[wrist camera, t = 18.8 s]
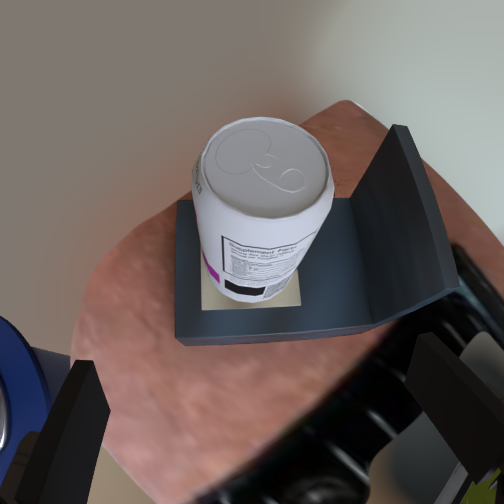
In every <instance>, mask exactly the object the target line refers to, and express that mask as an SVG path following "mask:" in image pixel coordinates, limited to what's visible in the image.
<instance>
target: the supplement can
mask: <svg viewBox="0 0 504 504" xmlns="http://www.w3.org/2000/svg"><path fill="white" fill-rule="evenodd" d="M334 189H335V188H334V184H333V179H332V175H331V168H330V164H329V160H328V156H327V153H326V152H325V150H324V149H323V148H322V146H321V145H320V143H319V142H318V140H317V139H316V138H315V137H313V136H312V135H311V134H310V133H308V132H307V131H306V130H304V129H303V128H302V127H300V126H298V125H295V124H293V123H291V122H288V121H286V120H283V119H278V118H270V117H264V116H259V117H251V118H242V119H239V120H237V121H234V122H232V123H229V124H227V125H225V126H223V127H222V128H220V129H219V130H218V131H217V132H216V133H215V134H214V135H212V136H211V137H210V138H209V140H208V142H207V144H206V146H205V148H204V149H203V150H202V151H201V153H200V155H199V157H198V159H197V161H196V163H195V165H194V167H193V169H192V196H193V202H194V208H195V214H196V219H197V225H198V230H199V236H200V241H201V247H202V252H203V257H204V262H205V268H206V270H207V273H208V275H209V278H210V280H211V282H212V283H213V284H214V285H215V287H216V288H217V289H218V290H219V291H220V292H221V293H222V294H224V295H226V296H228V297H230V298H232V299H234V300H236V301H241V302H249V303H255V302H260V301H264V300H268V299H270V298H272V297H273V296H275V295H276V294H278V293H279V292H281V291H282V290H283V289H284V287H285V286H286V285H287V283H288V282H289V280H290V279H291V277H292V276H293V274H294V272H295V271H296V269H297V267H298V266H299V264H300V262H301V260H302V259H303V257H304V255H305V253H306V252H307V250H308V248H309V247H310V245H311V243H312V241H313V240H314V238H315V236H316V234H317V232H318V231H319V229H320V227H321V225H322V224H323V222H324V220H325V218H326V216H327V215H328V213H329V211H330V209H331V205H332V200H333V194H334Z"/></svg>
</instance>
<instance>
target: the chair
mask: <svg viewBox="0 0 504 504" xmlns="http://www.w3.org/2000/svg"><path fill="white" fill-rule="evenodd" d="M459 288H460V283H459V278H458V274H457V270H456V265H455V261H454V258H453V254H452V250H451V246H450V243H449V239H448V236H447V232H446V229H445V225H444V222H443V219H442V216H441V213H440V209H439V206H438V203H437V200H436V197H435V195H434V192H433V189H432V186H431V183H430V181H429V178H428V175H427V173H426V170H425V167H424V165H423V162H422V160H421V157H420V155H419V152H418V150H417V148H416V145H415V143H414V141H413V138H412V136H411V134H410V131H409V129H408V127H407V126H402V125H396V124H393V125H392V126H391V128H390V130H389V132H388V134H387V135H386V137H385V139H384V141H383V142H382V144H381V146H380V148H379V149H378V151H377V153H376V154H375V156H374V158H373V160H372V161H371V163H370V165H369V166H368V168H367V170H366V172H365V173H364V175H363V177H362V178H361V180H360V182H359V183H358V185H357V187H356V188H355V190H354V192H353V193H352V195H351V197H350V198H333V200H332V205H331V209H330V211H329V213H328V215H327V216H326V218H325V220H324V222H323V224H322V225H321V227H320V229H319V231H318V232H317V234H316V236H315V238H314V240H313V241H312V243H311V245H310V247H309V248H308V250H307V252H306V253H305V255H304V257H303V259H302V260H301V262H300V264H299V266H298V267H297V269H296V271H295V272H294V274H293V276H292V277H291V279H290V280H289V282H288V283H287V285H286V286H285V287H284V289H283V290H282V291H281V292H279V293H278V294H276V295H275V296H273V297H272V298H270V299H268V300H264V301H260V302H255V303H249V302H241V301H236V300H234V299H232V298H230V297H228V296H226V295H224V294H222V293H221V292H220V291H219V290H218V289H217V288H216V287H215V285H214V284H213V283H212V282H211V280H210V278H209V275H208V273H207V270H206V268H205V262H204V257H203V252H202V247H201V241H200V236H199V230H198V225H197V219H196V214H195V208H194V202H193V200H178V201H177V216H176V242H175V338H176V339H177V340H178V341H179V342H181V343H182V344H183V345H184V346H198V345H229V344H250V343H267V342H281V341H294V340H306V339H316V338H326V337H336V336H345V335H353V334H361V333H364V332H366V331H369V330H371V329H374V328H376V327H378V326H381V325H383V324H385V323H388V322H390V321H392V320H394V319H397V318H399V317H401V316H403V315H406V314H408V313H410V312H412V311H414V310H416V309H419V308H421V307H423V306H425V305H427V304H429V303H431V302H433V301H435V300H437V299H439V298H441V297H443V296H445V295H447V294H449V293H451V292H453V291H455V290H457V289H459Z"/></svg>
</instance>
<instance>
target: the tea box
mask: <svg viewBox="0 0 504 504" xmlns="http://www.w3.org/2000/svg"><path fill="white" fill-rule="evenodd" d="M500 472H501V471H500V469H499V468H498V469H497V470H496V471H495V472H494V474H493V475H492V476H491V477H490V478H489V479H487V480H485V481H484V482H482V483H480V484H479V485H477V486H476V485H475V483H474V482H473V480H472V479H471V477H470V476H469V474H468V473H467V471H466V470H465V468H464V467H463V465H462V464H461V462H460V461H459V462H458V464H457V466H456V468H455V469H454V471H453V473H452V475H451V476H450V478H449V480H448V482H447V483H446V485H445V487H444V488H443V490H442V492H441V493H440V495H439V496H438V498H437V500H436V501H435V503H434V504H495V497H496V490H494V489H495V487H496V486H497V483H496V484H495V485H494V486H493V488H492V489H491V490H488V489H489V486H490V484H491V483H492V482H493V481H494V480H495V478H496V477H497V476H498V475H499V474H500Z"/></svg>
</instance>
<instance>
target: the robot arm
mask: <svg viewBox="0 0 504 504" xmlns="http://www.w3.org/2000/svg"><path fill="white" fill-rule="evenodd" d="M404 385H405V386H406V387H407V389H408V390H409V391H410V393H411V394H412V395H413V397H414V398H415V399H416V401H417V402H418V403H419V405H420V406H421V408H422V409H423V410H424V412H425V413H426V414H427V416H428V417H429V418H430V420H431V421H432V423H433V424H434V426H435V427H436V428H437V430H438V431H439V433H440V434H441V435H442V437H443V438H444V440H445V441H446V442H447V444H448V445H449V447H450V448H451V449H452V451H453V452H454V454H455V455H456V457H457V458H458V459H459V461H460V462H461V464H462V465H463V467H464V468H465V470H466V471H467V473H468V474H469V476H470V477H471V479H472V480H473V482H474V483H475V485H476V486H477V485H479V484H480V483H482V482H484V481H485V480H487V479H489V478H490V477H491V476H492V475H493V474H494V472H495V471H496V470H497V469H498V468H499V469H500V471H501V472H500V474H499V475H498V476H497V477H496V478H495V480H494V481H493V482H492V483H491V484H490V486H489V489H488V490H491V489H492V488H493V486H494V485H495V484H496V483H497V486H496V487H495V489H494V490H496V497H495V504H504V395H503V394H502V393H501V391H499V389H498V388H496V387H494V386H492V385H490V384H489V383H486V384H484V383H483V382H482V381H481V380H480V379H479V378H478V377H477V376H476V375H475V374H474V373H473V372H472V371H471V370H470V369H469V368H468V367H467V366H466V365H465V364H464V363H463V362H462V361H461V360H460V359H459V358H458V357H457V356H456V355H455V354H454V353H453V352H452V351H451V350H450V349H449V348H448V347H447V346H446V345H445V344H444V343H443V342H442V341H441V340H440V339H439V338H438V337H437V336H435V335H434V334H433V333H432V332H429V333H424V334H419V335H418V337H417V341H416V345H415V348H414V352H413V355H412V359H411V362H410V366H409V369H408V372H407V375H406V378H405V381H404ZM110 411H111V410H110V408H109V405H108V403H107V400H106V397H105V394H104V392H103V389H102V386H101V383H100V380H99V377H98V374H97V371H96V368H95V365H94V362H93V361H92V360H75V362H74V364H73V366H72V368H71V370H70V372H69V374H68V376H67V378H66V380H65V381H64V383H63V385H62V387H61V389H60V392H59V394H58V396H57V398H56V400H55V402H54V404H53V406H52V408H51V410H50V412H49V414H48V417H47V419H46V421H45V423H44V425H43V428H42V430H41V432H35V431H29V432H28V433H27V434H26V435H25V436H24V437H23V438H22V439H21V441H20V443H19V445H18V447H17V449H16V453H15V454H14V456H13V458H12V462H11V463H10V465H9V467H8V470H7V472H6V474H5V477H4V479H3V482H2V484H1V487H0V504H87V501H88V496H89V492H90V487H91V483H92V479H93V475H94V470H95V466H96V462H97V458H98V455H99V451H100V447H101V443H102V440H103V436H104V432H105V429H106V425H107V422H108V418H109V415H110ZM11 431H12V412H11V405H10V400H9V396H8V392H7V389H6V386H5V384H4V381H3V379H2V377H1V375H0V455H1V454H2V453H3V452H4V450H5V449H6V447H7V445H8V443H9V440H10V437H11Z"/></svg>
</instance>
